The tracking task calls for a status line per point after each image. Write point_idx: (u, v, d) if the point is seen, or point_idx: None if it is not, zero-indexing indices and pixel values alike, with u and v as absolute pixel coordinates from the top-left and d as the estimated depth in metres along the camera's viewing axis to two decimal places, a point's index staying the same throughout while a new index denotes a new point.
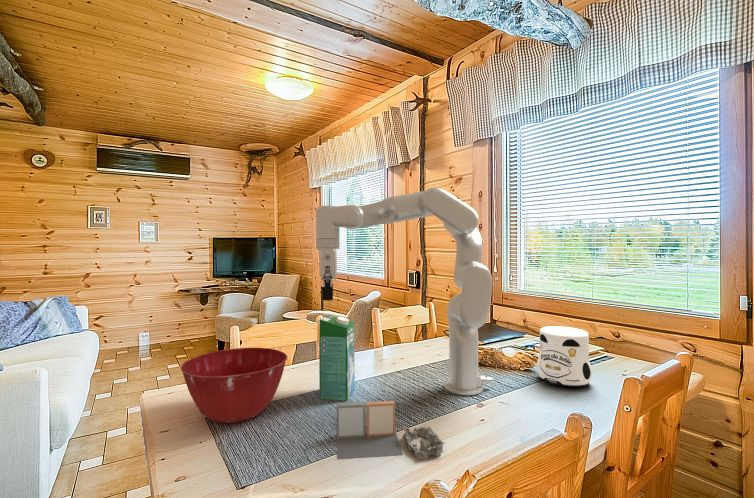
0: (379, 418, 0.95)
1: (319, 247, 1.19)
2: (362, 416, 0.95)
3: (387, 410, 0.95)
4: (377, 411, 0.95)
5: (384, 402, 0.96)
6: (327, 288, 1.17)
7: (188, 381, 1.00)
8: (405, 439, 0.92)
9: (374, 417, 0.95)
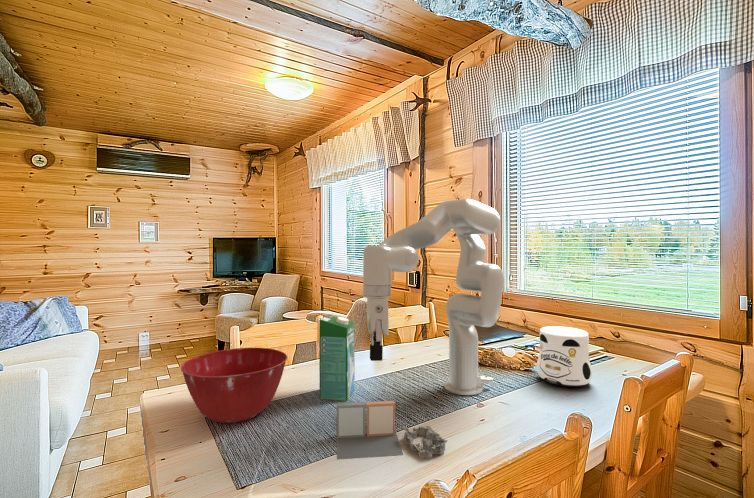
0: (379, 418, 0.95)
1: (368, 296, 1.00)
2: (362, 416, 0.95)
3: (387, 410, 0.95)
4: (377, 411, 0.95)
5: (384, 402, 0.96)
6: (376, 347, 1.01)
7: (188, 381, 1.00)
8: (406, 439, 0.92)
9: (374, 417, 0.95)
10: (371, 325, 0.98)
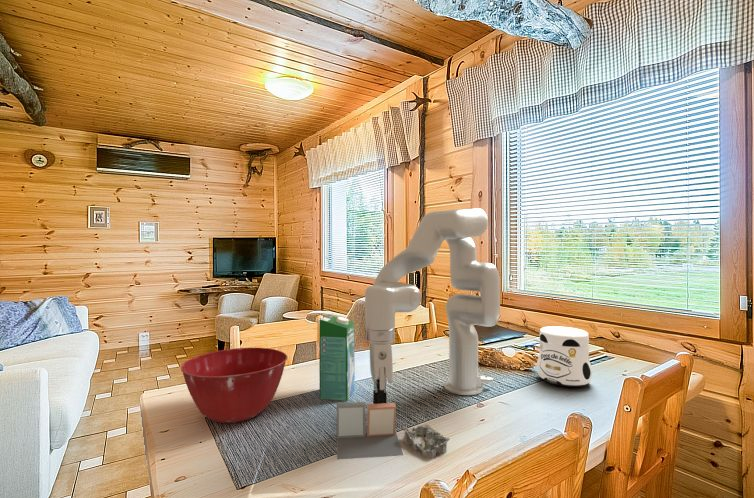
0: (379, 420, 0.94)
1: (370, 341, 0.94)
2: (362, 416, 0.95)
3: (388, 413, 0.94)
4: (378, 414, 0.94)
5: (385, 405, 0.95)
6: (380, 394, 0.95)
7: (188, 381, 1.00)
8: (407, 440, 0.92)
9: (374, 419, 0.94)
10: (374, 373, 0.92)
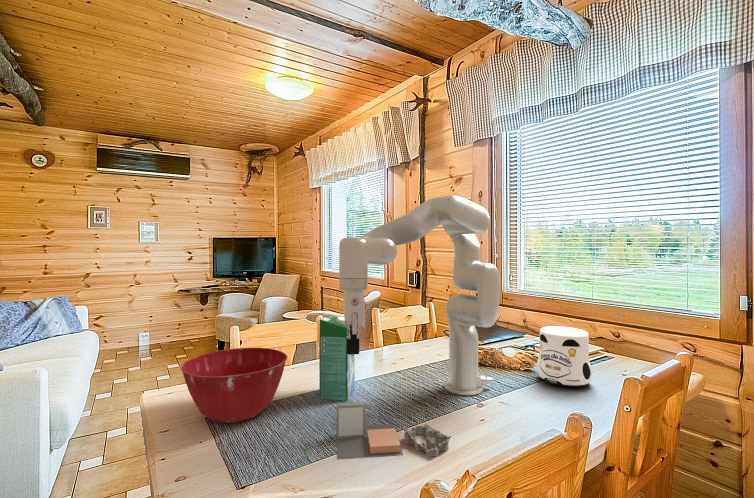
0: None
1: (344, 289, 0.98)
2: (362, 416, 0.95)
3: None
4: None
5: (389, 449, 0.87)
6: (353, 340, 1.00)
7: (188, 381, 1.00)
8: (408, 440, 0.92)
9: None
10: (347, 318, 0.96)
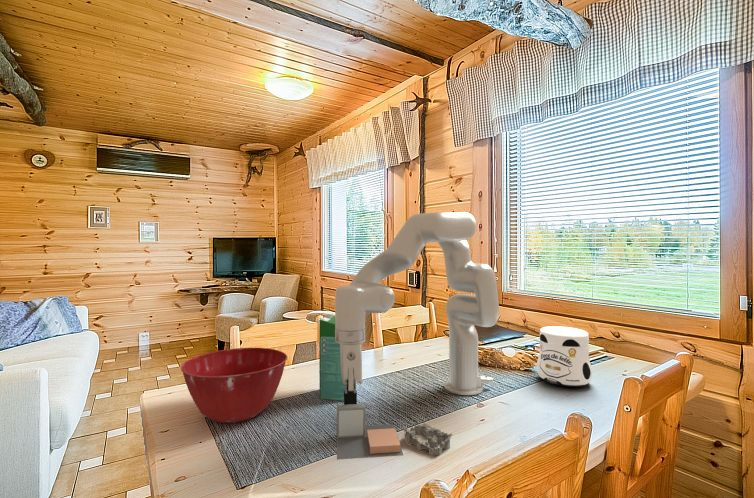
0: None
1: (340, 341, 0.93)
2: (362, 418, 0.94)
3: None
4: None
5: (389, 449, 0.87)
6: (350, 395, 0.95)
7: (188, 381, 1.00)
8: (410, 440, 0.91)
9: None
10: (343, 374, 0.91)
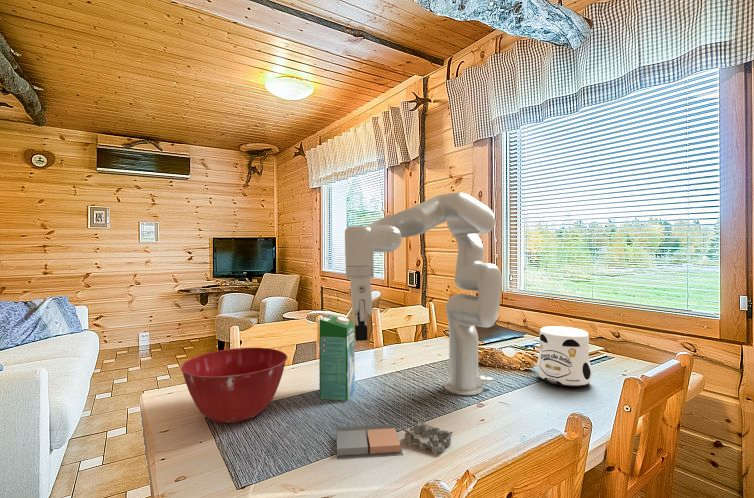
0: None
1: (350, 276, 1.00)
2: None
3: None
4: None
5: (389, 449, 0.87)
6: (361, 327, 1.02)
7: (188, 381, 1.00)
8: (411, 440, 0.91)
9: None
10: (354, 305, 0.98)
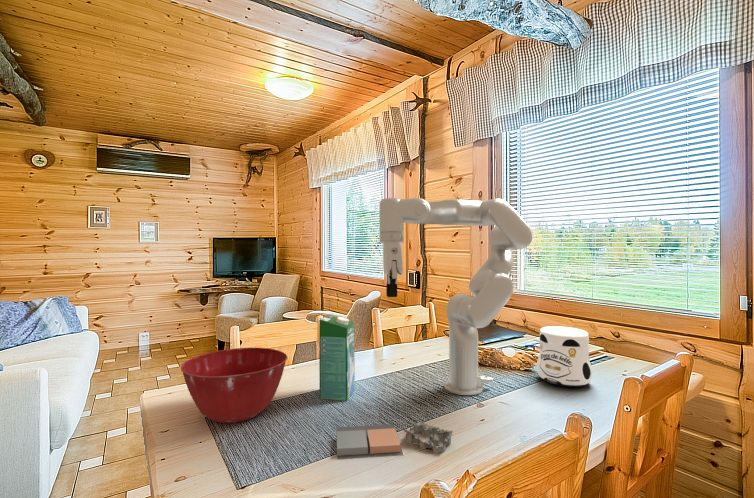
0: None
1: (384, 241, 1.17)
2: None
3: None
4: None
5: (389, 449, 0.87)
6: (392, 285, 1.18)
7: (188, 381, 1.00)
8: (412, 440, 0.91)
9: None
10: (388, 265, 1.15)
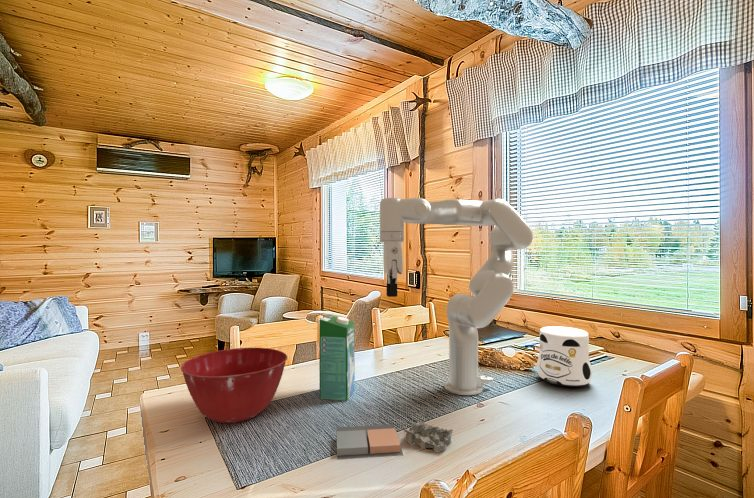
0: None
1: (385, 240, 1.17)
2: None
3: None
4: None
5: (389, 449, 0.87)
6: (392, 285, 1.18)
7: (188, 381, 1.00)
8: (412, 440, 0.91)
9: None
10: (388, 264, 1.15)
